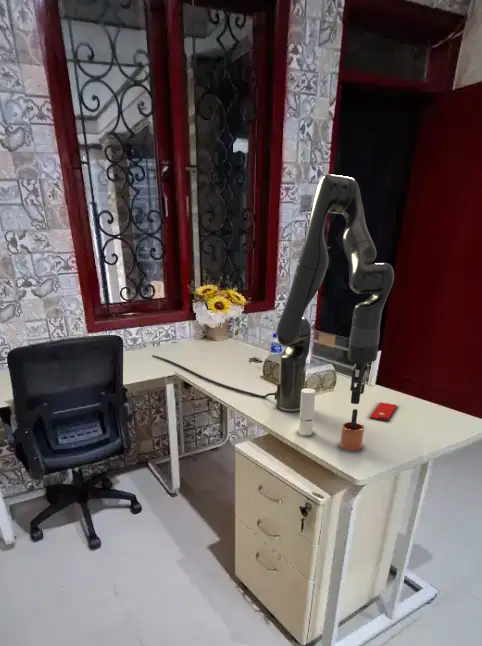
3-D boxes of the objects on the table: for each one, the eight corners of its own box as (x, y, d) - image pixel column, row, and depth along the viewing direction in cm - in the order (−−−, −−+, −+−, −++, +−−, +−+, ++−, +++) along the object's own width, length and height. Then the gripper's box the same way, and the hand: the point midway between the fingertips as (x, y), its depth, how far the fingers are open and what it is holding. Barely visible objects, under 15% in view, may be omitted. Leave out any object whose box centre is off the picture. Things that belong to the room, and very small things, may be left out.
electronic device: (380, 403, 155) (369, 417, 145) (380, 402, 155) (369, 416, 144) (396, 406, 152) (387, 421, 141) (396, 404, 152) (387, 419, 141)
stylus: (348, 446, 126) (352, 409, 121) (348, 444, 127) (353, 408, 122) (352, 446, 126) (357, 410, 120) (353, 444, 127) (358, 408, 122)
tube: (301, 429, 139) (304, 387, 133) (314, 432, 137) (317, 389, 130) (296, 434, 136) (299, 391, 129) (309, 437, 134) (312, 393, 127)
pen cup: (338, 449, 126) (340, 428, 123) (342, 440, 131) (344, 420, 128) (359, 453, 123) (362, 432, 120) (362, 444, 128) (365, 423, 125)
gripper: (353, 336, 120) (348, 389, 127) (344, 348, 109) (339, 405, 116) (381, 337, 117) (374, 391, 124) (375, 350, 105) (367, 408, 113)
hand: (357, 398), depth 120 cm, fingers open, 8 cm apart
